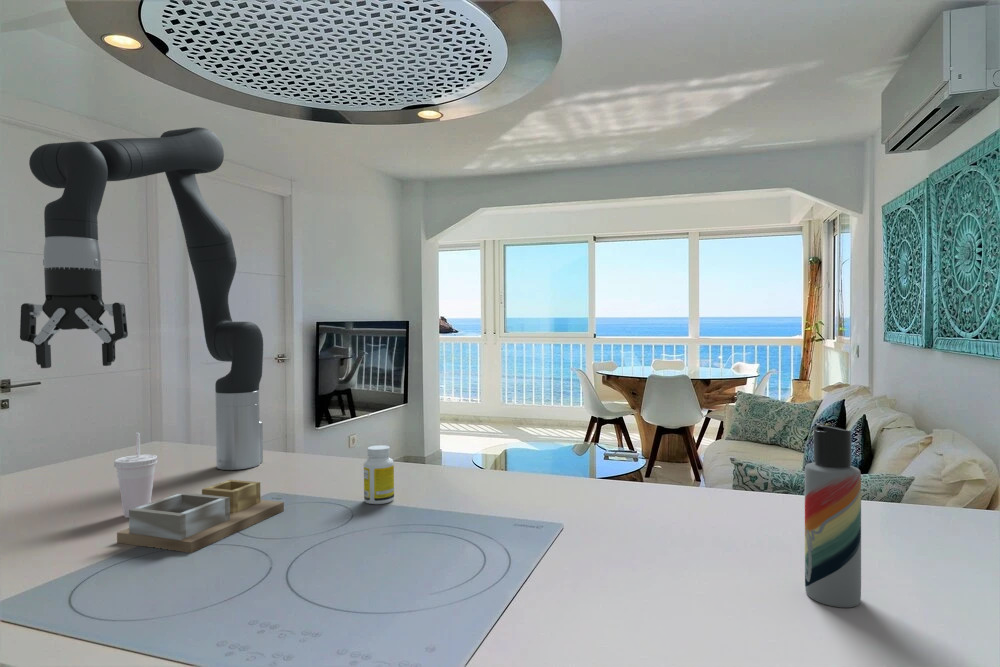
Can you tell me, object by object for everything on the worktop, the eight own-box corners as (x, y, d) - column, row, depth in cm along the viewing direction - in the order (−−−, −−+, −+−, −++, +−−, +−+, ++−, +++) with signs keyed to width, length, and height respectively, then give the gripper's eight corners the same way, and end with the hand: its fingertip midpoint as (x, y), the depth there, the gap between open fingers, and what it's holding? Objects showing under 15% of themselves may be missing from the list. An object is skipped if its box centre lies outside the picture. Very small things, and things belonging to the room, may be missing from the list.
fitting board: (219, 503, 107) (218, 476, 107) (283, 510, 103) (283, 481, 103) (117, 542, 88) (116, 509, 88) (191, 552, 84) (190, 517, 84)
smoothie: (166, 509, 104) (165, 429, 104) (141, 521, 98) (139, 436, 98) (132, 508, 105) (131, 429, 105) (105, 520, 98) (103, 436, 98)
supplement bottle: (399, 497, 110) (399, 445, 110) (384, 506, 105) (384, 451, 105) (374, 495, 112) (373, 443, 112) (358, 503, 107) (357, 449, 107)
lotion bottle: (794, 587, 71) (794, 421, 71) (839, 585, 72) (839, 420, 72) (824, 609, 66) (824, 430, 65) (873, 607, 66) (872, 428, 66)
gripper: (129, 269, 102) (133, 363, 102) (31, 268, 97) (35, 366, 98) (116, 265, 95) (119, 366, 95) (9, 264, 90) (13, 370, 91)
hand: (76, 366), depth 97 cm, fingers open, 8 cm apart
